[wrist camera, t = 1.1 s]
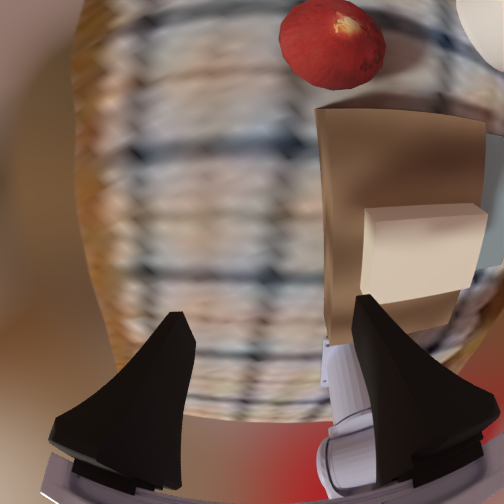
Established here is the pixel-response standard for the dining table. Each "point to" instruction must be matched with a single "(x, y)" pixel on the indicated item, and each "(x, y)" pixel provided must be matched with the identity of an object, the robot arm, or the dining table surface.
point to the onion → (332, 44)
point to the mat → (493, 203)
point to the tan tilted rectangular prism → (420, 250)
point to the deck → (389, 195)
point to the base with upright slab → (484, 28)
